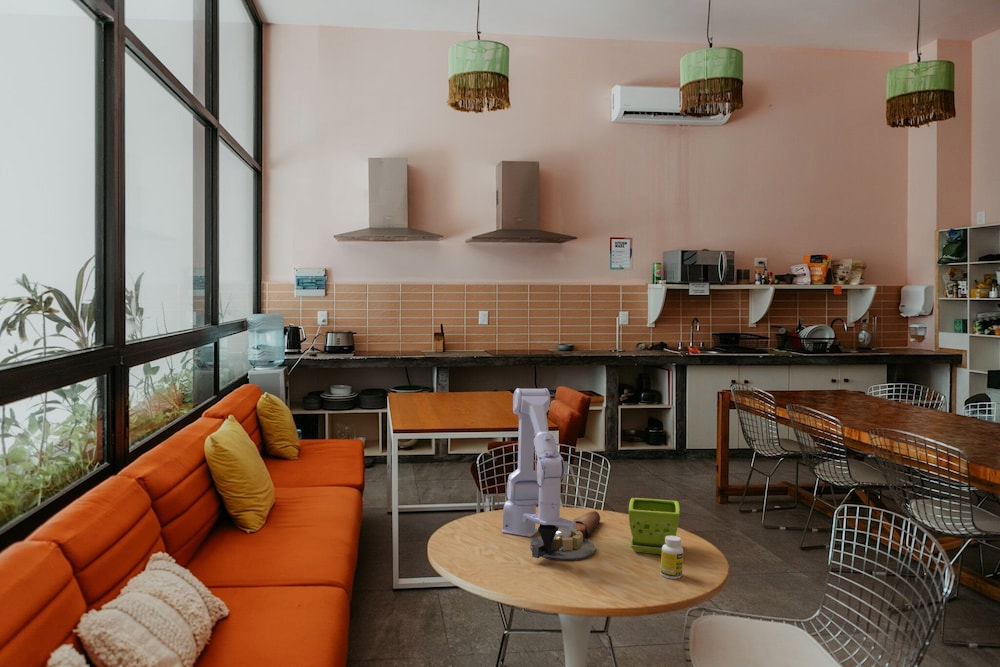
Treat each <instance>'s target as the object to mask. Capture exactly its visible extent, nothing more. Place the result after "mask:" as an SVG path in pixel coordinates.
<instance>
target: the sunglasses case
mask: <svg viewBox="0 0 1000 667" xmlns="http://www.w3.org/2000/svg"><path fill="white" fill-rule="evenodd" d="M572 521H574V522H576V526H575V529H577V531H580V532H581V533H582V534H583V538H584V539H587V540H588V539H589V537H591V535H592V533H593V532H594V530H595V529H596V527H597V526H598V524H599V523H600V522H601V515H600V513H599V512H598V511H597V510H596V511H595V510H593V511H589V512H586V513H584V514H582V515H579V516H577V517H575V518H574V519H572Z"/></svg>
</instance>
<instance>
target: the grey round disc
mask: <svg viewBox="0 0 1000 667" xmlns="http://www.w3.org/2000/svg"><path fill="white" fill-rule="evenodd" d="M555 536H556V537H560V538H566V537H571V531H570V530H569V529H564V528H559V529H558V531H557V532H556V534H555ZM542 541H543V540H542V537H541V535H539V536H537V537H535V538H532V540H530V543H529V545H530V546H529V548H530V551H531V552H532V546H534V545H536V544H538V543H540V542H542ZM595 546H596V545H595V544H594V543H593V541H590V540H589V539H588V538H587V539H584V538H583V545H582V547H581V548H579V549H573V550H568V551H562V549H561V542H560V549H558V550H553V551H551V552H549V553H548V554H545V555H543V556H541V557H540V558H544V559H549V560H554V561H563V562H564V561H566V562H567V561H568V562H570V561H571V562H574V561H582V560H586V559H589V558H591V557H592V556H593V555H594V554H595V551H596V547H595Z"/></svg>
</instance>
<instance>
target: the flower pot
mask: <svg viewBox="0 0 1000 667" xmlns="http://www.w3.org/2000/svg"><path fill="white" fill-rule="evenodd" d="M628 504H629V505H628V522H629V528H630V531H631V541H630V547H631V549H632V550H633V551H634V552H635V553H645V554H653V555H655V554H656V555H661V554H662V546H663V545H664V544H666V543H665V537H666V536H677V532H678V527H679V522H680V513H681V510H680V504H679V501H677V500H667V499H656V498H655V499H654V498H642V497H641V498H640V497H631V499H630V500H629V503H628Z"/></svg>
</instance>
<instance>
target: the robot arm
mask: <svg viewBox="0 0 1000 667" xmlns="http://www.w3.org/2000/svg"><path fill="white" fill-rule="evenodd" d="M550 406H551V393H550V391H549V389H548V388H547V387H546V388H545V387H544V388H520V387H518V388H516V389H515V390H514V392H513V394H512V411H513V414H514V415H516V416H518V418H517V419H518V438H517V439H518V442H517V444H518V446H517V449H518V450H517V469H515V470H514V471H513V472H511V473H510V474H509V475H508V478H507V483H506V496H507V500H506V501H505V503H504V505H503V511H502V529H501V533H503V534H511V535H517V536H523V537H530V538H531V537H533V536H534V535H535V534H536V533H539V536H541V537H542V540H543V543H544V547H545V553H547V554H548V553H549V552H551V545H552V542H553V539H554V536H555V534H556V532H557V531H558V529H559V528H564V529H569V530H570V531H573V530H575V526H576V522H574V521H573V520H569V519H566V518H564V517H560V514H561V512H560V510H561V485H562V481H561V480H562V479H563V478H564V476H565V469H566V468H565V462H564V457H562V455H561V453H559V452H558V449H557V445H556V440H555V436H554V435H553V434H552V433H550V432H549V424H548V423H549V422H548V416H547V413H548V411H549V407H550ZM535 455H536V460H537V461H536V470H534V467H535V466H534V461H535V460H534V459H535ZM537 505H538V507H537ZM537 508H538V509H537ZM537 510H538V511H537ZM536 512H538V513H536ZM537 524H538V525H539V526H538V527H537V526H536V525H537Z"/></svg>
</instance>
